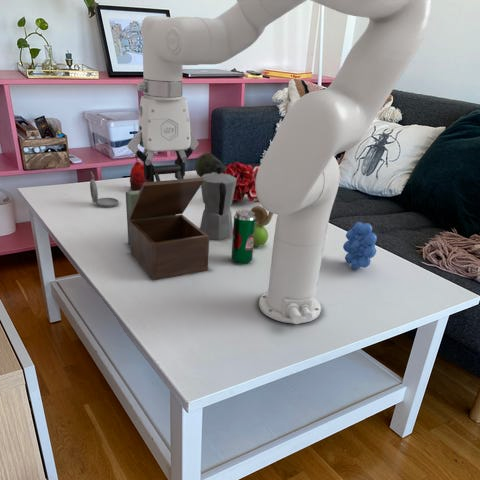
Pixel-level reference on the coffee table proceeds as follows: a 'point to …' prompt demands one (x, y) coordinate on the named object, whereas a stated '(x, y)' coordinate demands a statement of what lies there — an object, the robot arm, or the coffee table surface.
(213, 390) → the coffee table surface
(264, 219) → the snail figurine
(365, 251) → the grapes
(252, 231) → the soda can
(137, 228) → the chest
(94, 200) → the pocket watch
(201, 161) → the carnation
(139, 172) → the red clay folk toy
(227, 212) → the coffeepot
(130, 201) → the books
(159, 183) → the lid
